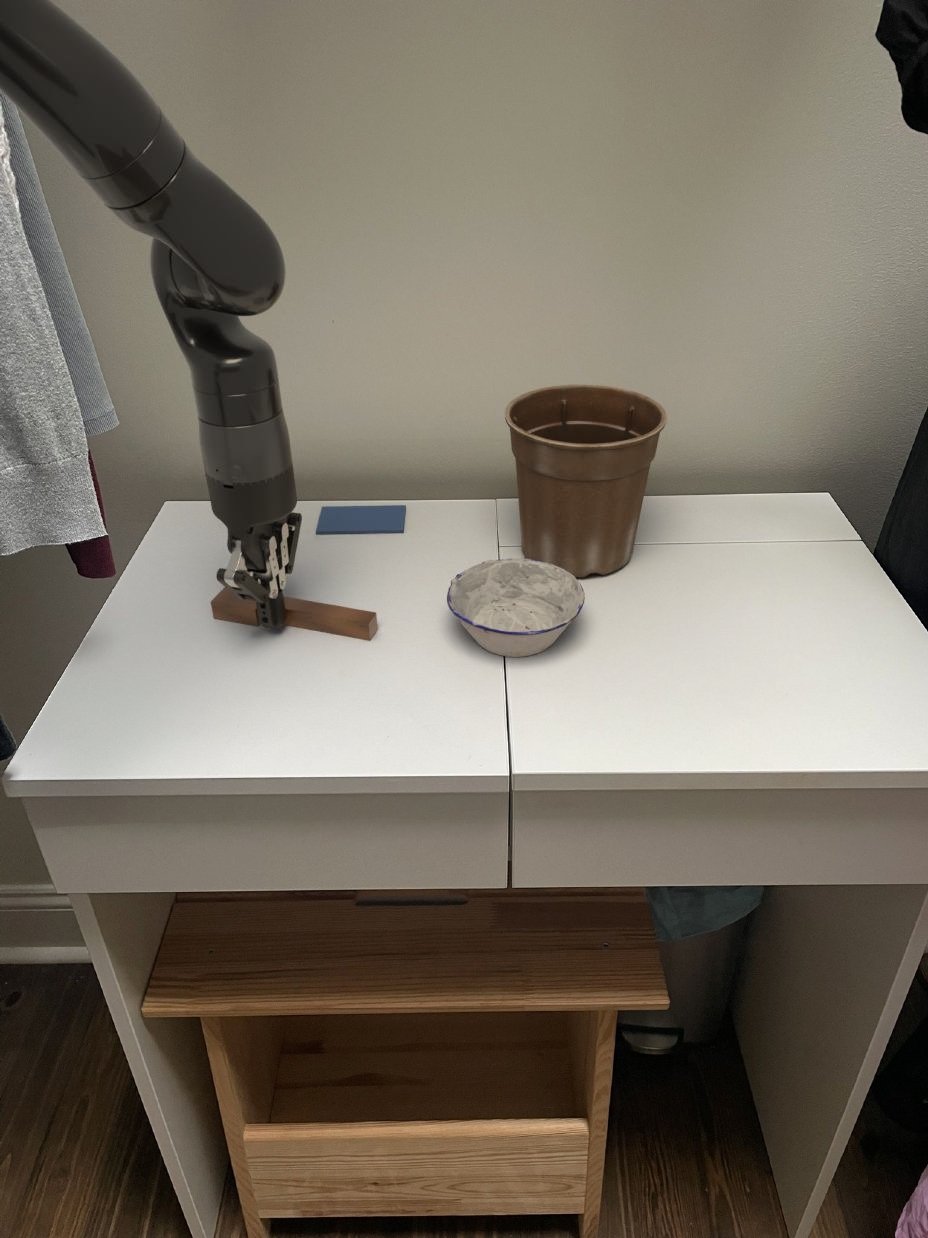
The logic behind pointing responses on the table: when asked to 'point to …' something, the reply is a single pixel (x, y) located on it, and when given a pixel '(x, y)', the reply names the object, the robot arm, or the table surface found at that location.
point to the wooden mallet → (300, 615)
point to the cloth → (361, 519)
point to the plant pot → (582, 472)
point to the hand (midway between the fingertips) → (273, 624)
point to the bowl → (515, 604)
